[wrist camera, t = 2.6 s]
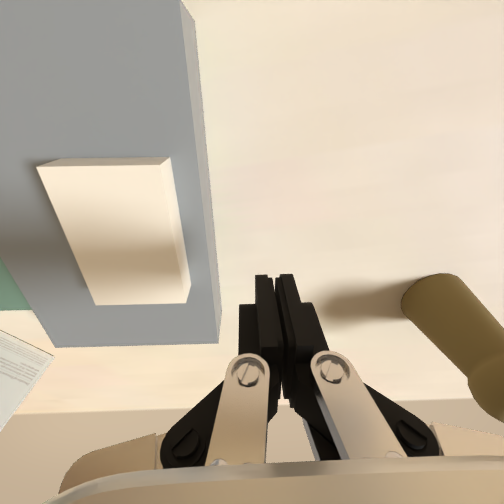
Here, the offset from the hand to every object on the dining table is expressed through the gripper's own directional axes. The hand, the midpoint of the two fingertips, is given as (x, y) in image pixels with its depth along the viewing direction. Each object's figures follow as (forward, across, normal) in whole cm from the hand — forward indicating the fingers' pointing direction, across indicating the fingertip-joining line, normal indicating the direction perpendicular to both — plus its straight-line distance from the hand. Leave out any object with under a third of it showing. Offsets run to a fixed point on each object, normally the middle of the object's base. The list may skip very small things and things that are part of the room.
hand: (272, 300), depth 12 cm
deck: (+10, +11, -1) cm, 15 cm away
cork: (+10, -17, +9) cm, 22 cm away
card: (+6, +8, -1) cm, 10 cm away
